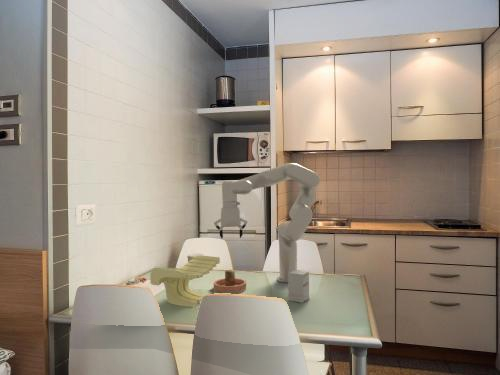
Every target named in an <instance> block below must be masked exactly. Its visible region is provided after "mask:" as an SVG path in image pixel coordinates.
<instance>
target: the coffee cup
mask: <svg viewBox="0 0 500 375" xmlns="http://www.w3.org/2000/svg"><path fill="white" fill-rule="evenodd" d="M197 255H201V256H204V254H202V253H191V254H188V255H187V262H188V261H190V260H191V259H192V258H193V257H195V256H197ZM201 277H203V276H200V277H199V278H201Z"/></svg>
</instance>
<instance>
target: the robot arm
mask: <svg viewBox="0 0 500 375" xmlns="http://www.w3.org/2000/svg"><path fill="white" fill-rule="evenodd" d="M289 180H293V181H295V182H297V183H298V185H299V188H300V189H299V195H298V196H297V198H296V200H295V201H294V203H293V205H292V206H291V208H290V210H289V214H288V216H289V218H290V220H287V221H285V220H284V221H282V222H281V223H280V224H279V225H278V227H277V238H278V250H279V252H278V257H279V259H278V260H279V261H278V263H279V264H278V265H279V266H278V267H279V275H278V276H277V277H276V280H277V281H278V282H280V283H285V284H286V283H288V273H290V272H292V271H294V270H298V244H297V242H298V241H299V240H300V239H301V238H302V237H303V235H304V234H305V232H306V230H307V229H308V227H309V226H310V223H311V222H312V219H313V211H312V209H311V207H312V205H313V203H314V202H315V198H316V189H315V188H317V187H318V186H319V184H320V183H321V182H320V181H321V178H320V176H319V174H318V173H316V172H315V171H314V170H313V171H312V170H311V169H309V168H307V167H304V166H302V165H300V164H298V163H294V162H289V163H284V164H282V165H279V166H276V167H273V168H270V169H267V170H263V171H261V172H258V173H256V174H253V175H250V176H248V177H244V178H241V179H238V180H237V181H234V180H226V181H222V183H221V192H222V193H221V194H222V196H221V197H222V207H221V208H220V218H219V219H217V220H216V221H214V223H213V224H214V226H215V227H216V230H219V237H220V238H221V239H223V238H224V230H223V229H224V228H236V227H238V228H239V238H240V239H241V238H242V236H243V231H244V229H245V227H247V226H246V225H247V224H248V220H246V219H244V218H242V217H241V210H240V207H239V206H240V205H241V201H238V195H249V194H250V193H251V192H252V191H253V190H257V189H260V188H266V187H267V188H268V187H271V186H275V185H277V184H279V183H284V182H286V181H289ZM241 222H242V223H243V224H242V225H241ZM219 223H220V226H219Z"/></svg>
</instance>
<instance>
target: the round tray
mask: <svg viewBox="0 0 500 375" xmlns="http://www.w3.org/2000/svg"><path fill="white" fill-rule="evenodd" d="M213 290H214V292H215V293H218V294H222V293H235V294H240V293H244V292H245V291H246V290H247V280H245V279H243V278H237V277H235V286H225V278H219V279H217V280H214V282H213Z"/></svg>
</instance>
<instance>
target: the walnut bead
mask: <svg viewBox="0 0 500 375" xmlns="http://www.w3.org/2000/svg"><path fill="white" fill-rule="evenodd" d="M224 277H225V278H224V279H225V286H235V278H236V270H232V269H228V270H224Z"/></svg>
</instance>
